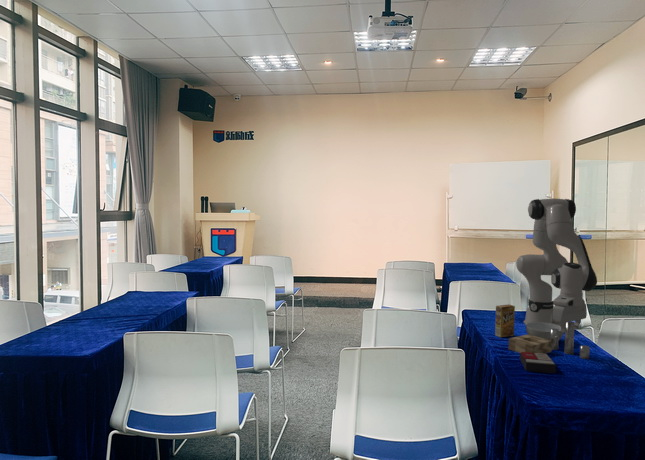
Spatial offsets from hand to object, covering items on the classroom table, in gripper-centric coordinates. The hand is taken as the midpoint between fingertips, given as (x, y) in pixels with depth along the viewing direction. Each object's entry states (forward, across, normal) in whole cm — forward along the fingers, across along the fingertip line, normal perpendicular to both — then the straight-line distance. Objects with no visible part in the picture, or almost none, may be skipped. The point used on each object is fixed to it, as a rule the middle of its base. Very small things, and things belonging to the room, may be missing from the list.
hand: (569, 330), depth 206 cm
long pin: (+10, 0, 0) cm, 10 cm away
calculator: (+11, +27, +2) cm, 29 cm away
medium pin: (+10, 0, -7) cm, 13 cm away
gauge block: (+10, +12, -11) cm, 19 cm away
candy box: (+10, +2, -32) cm, 34 cm away
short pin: (+10, 0, +7) cm, 12 cm away
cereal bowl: (+10, -8, -17) cm, 22 cm away
